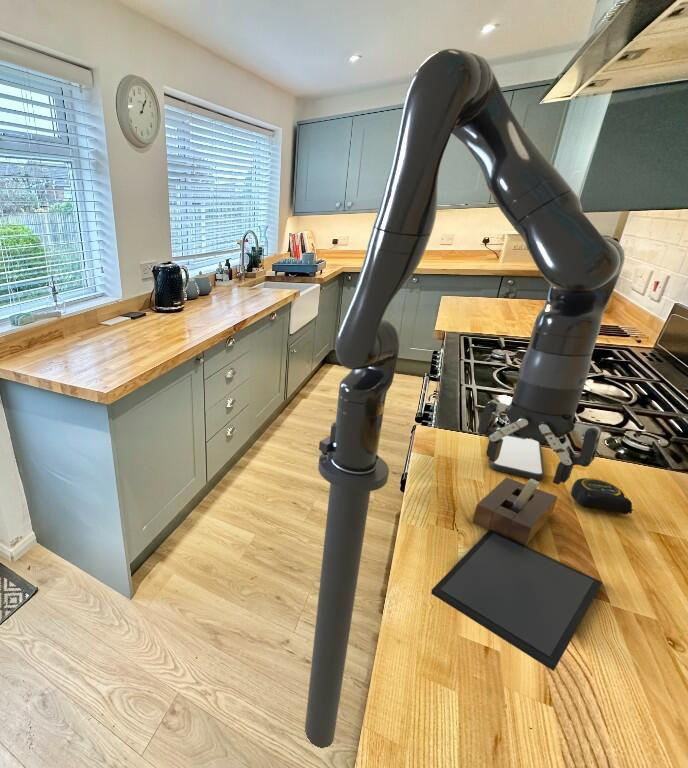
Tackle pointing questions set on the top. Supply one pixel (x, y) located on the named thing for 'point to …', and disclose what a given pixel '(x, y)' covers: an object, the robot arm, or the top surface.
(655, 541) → the top surface
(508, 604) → the tablet
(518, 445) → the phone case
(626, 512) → the tape measure
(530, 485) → the grey square rod
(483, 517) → the pen stand
